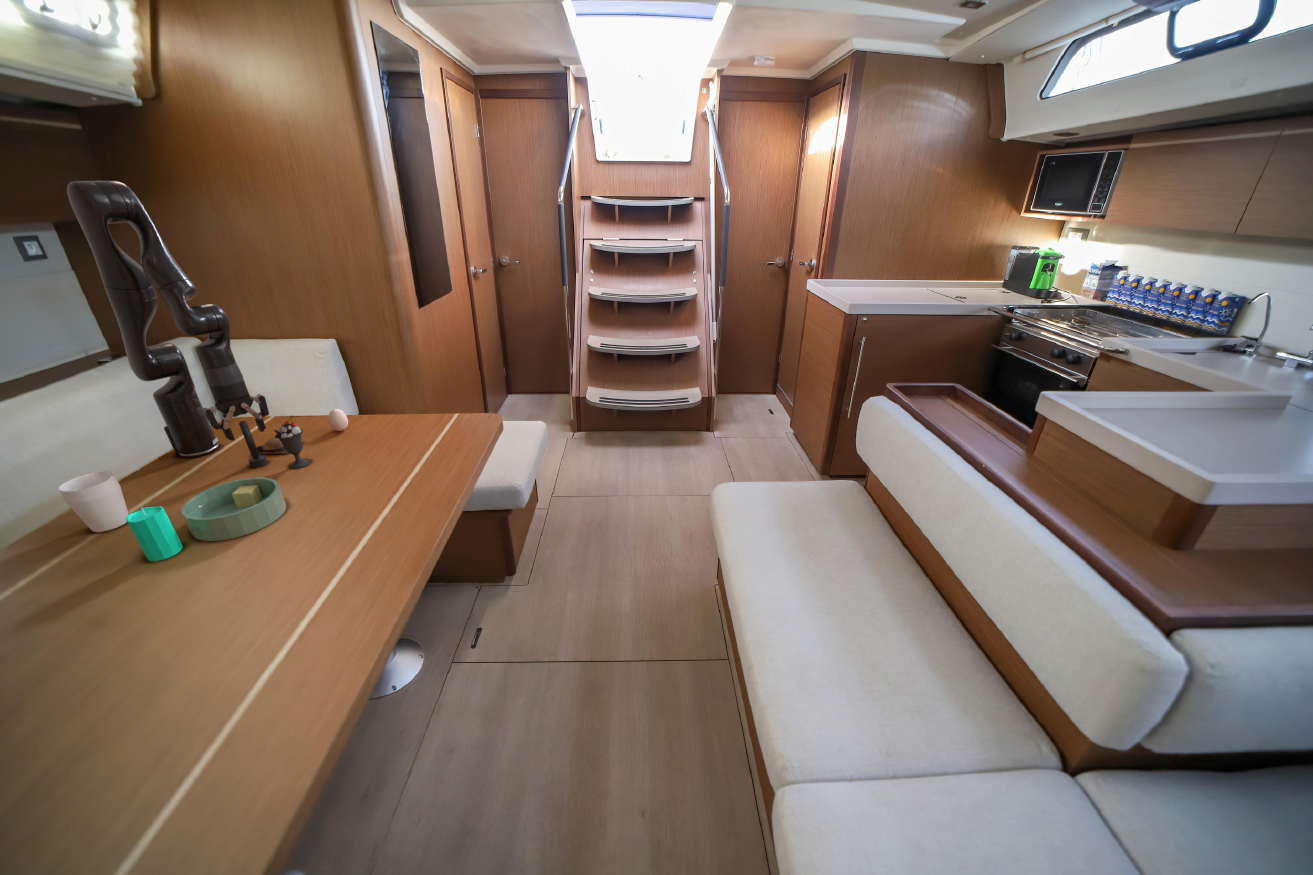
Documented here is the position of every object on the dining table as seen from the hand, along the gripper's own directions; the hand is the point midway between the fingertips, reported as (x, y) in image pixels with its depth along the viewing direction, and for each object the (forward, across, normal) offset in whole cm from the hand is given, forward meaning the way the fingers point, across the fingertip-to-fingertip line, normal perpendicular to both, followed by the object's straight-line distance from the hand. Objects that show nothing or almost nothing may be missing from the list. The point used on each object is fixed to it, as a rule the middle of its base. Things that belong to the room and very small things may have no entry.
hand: (247, 435), depth 143 cm
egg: (+10, -26, -4) cm, 28 cm away
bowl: (+9, +13, +28) cm, 32 cm away
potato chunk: (+9, +10, +23) cm, 26 cm away
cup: (+10, +32, +6) cm, 34 cm away
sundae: (+10, -7, +10) cm, 16 cm away
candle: (+10, +28, +30) cm, 42 cm away
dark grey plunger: (+9, 0, 0) cm, 9 cm away
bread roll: (+10, -8, -6) cm, 14 cm away
